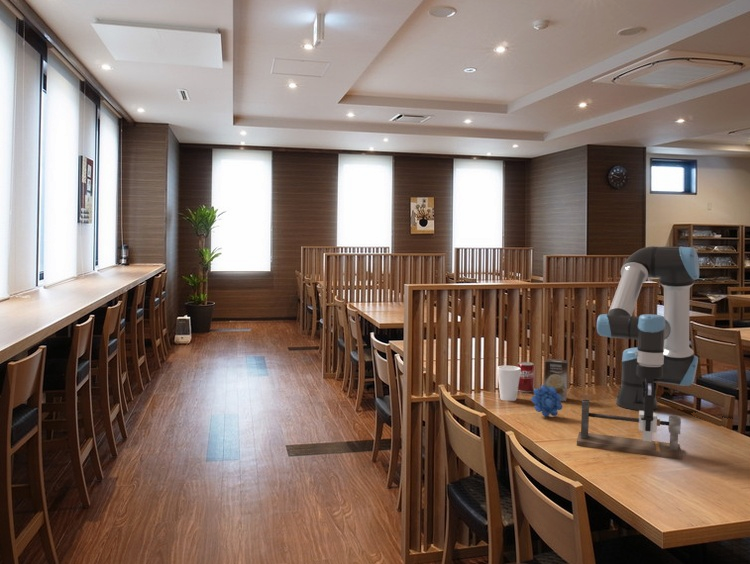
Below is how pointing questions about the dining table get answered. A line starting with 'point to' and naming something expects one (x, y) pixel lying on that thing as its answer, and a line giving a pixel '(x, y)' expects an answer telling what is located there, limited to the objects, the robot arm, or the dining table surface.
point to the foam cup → (508, 382)
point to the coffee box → (556, 376)
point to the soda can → (526, 377)
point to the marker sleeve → (641, 415)
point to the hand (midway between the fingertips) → (647, 437)
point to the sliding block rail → (629, 443)
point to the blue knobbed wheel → (547, 400)
